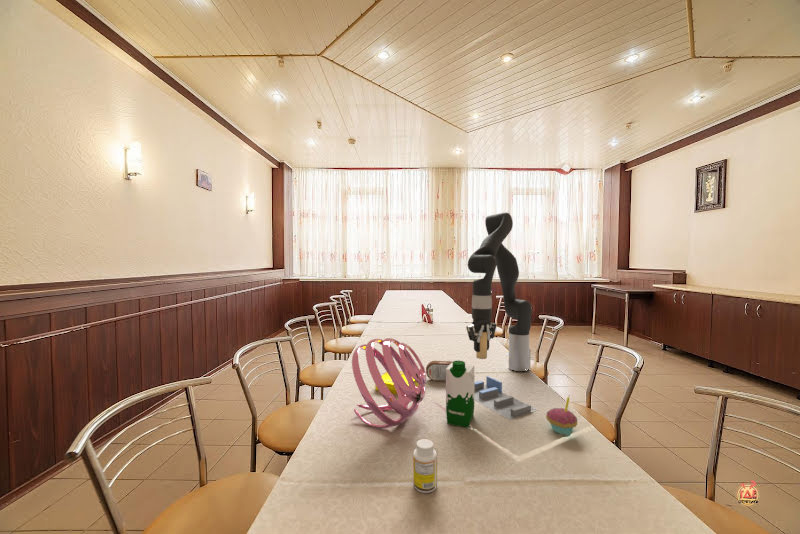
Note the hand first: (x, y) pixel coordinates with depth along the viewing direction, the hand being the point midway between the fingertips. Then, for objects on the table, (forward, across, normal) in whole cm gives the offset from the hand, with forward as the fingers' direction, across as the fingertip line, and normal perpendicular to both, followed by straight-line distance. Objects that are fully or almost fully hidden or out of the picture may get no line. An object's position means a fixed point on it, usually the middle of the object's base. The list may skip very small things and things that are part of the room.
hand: (481, 350), depth 127 cm
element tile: (+18, +24, -23) cm, 38 cm away
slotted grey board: (+18, 0, +8) cm, 19 cm away
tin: (+18, +4, -19) cm, 27 cm away
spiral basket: (+18, +40, 0) cm, 44 cm away
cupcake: (+18, -2, +33) cm, 37 cm away
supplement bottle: (+18, +47, +32) cm, 59 cm away
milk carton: (+18, +20, +12) cm, 29 cm away
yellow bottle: (+3, 0, 0) cm, 3 cm away
